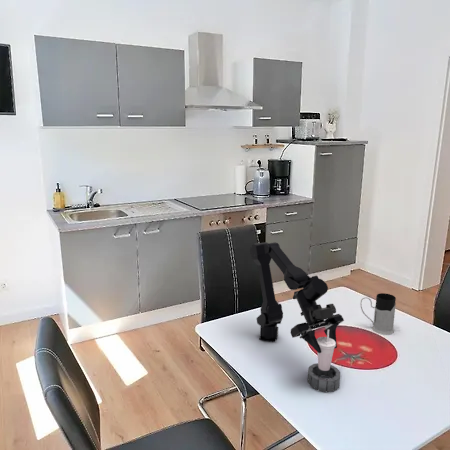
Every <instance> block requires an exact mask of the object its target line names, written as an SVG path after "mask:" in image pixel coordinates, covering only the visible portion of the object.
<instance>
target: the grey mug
mask: <svg viewBox="0 0 450 450" xmlns="http://www.w3.org/2000/svg"><path fill="white" fill-rule="evenodd" d="M364 299H368V300H369V301H370V308H372V309H374V314H373V320H372V319H371V318H370V317H369V316H368V314H366V313H365V311H364V310H363V307H362V305H360V309H361V312H362V314H363V315H364V316H365V317H366V318H367V319H369V321H370V322H372V323H371V324H372V327H371V329H372V331H373V332H375V333H377V334H380V335H384V336H387V335H388V336H389V335H393V334H394V332H395V330H394V325H395V324H394V323H395V315H396V314H395V312H396V304H397V303H396V300H397V298H396V297H395V295H393V294H390V293H377V294H376V299H375V306H373V305H372V304H373V303H372V300H371V298H370V297H367V296H365V297H364V296H363V297H362V298H361V300H360V303H362V302H363V300H364Z"/></svg>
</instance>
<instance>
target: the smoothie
mask: <svg viewBox="0 0 450 450" xmlns="http://www.w3.org/2000/svg"><path fill="white" fill-rule="evenodd" d="M316 339H317V342H318V344H319V346H320V349H321V353H318V352H317V351H316V352H317V363H318V368H319V369H320V370H323V371H328V370H329V369H330V365H332V360H333V355H334V352H335V351H334V350H335V348H334V347H335V346H336V342H337V341H336V342H335V340H333V339H332V338H329V329H328V330H327V336H319V337H317V338H316Z"/></svg>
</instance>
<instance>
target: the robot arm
mask: <svg viewBox="0 0 450 450" xmlns="http://www.w3.org/2000/svg"><path fill="white" fill-rule="evenodd" d="M249 254H250V255H251V259H252V261H253V262H254V264H255V265H256V266H257V270H258V277H259V278H258V279H259V283H260V289H261V295H262V303H261V307H260V314H259V315H258V316H257V317H256V323H257V325H258V326H259V327H260V328H259V329H260V330H259V331H260V332H259V333H260V336H259V337H258V340H260V341H265V342H271V343H275V342H276V341H277V339H278V337H279V326H278V325H281V324H282V321H283V318H284V312H283V307H282V304H281V303H279V302H278V301H277V300H276V296H275V295H276V294H275V290H274V289H275V288H274V283H273V277H272V271H271V265H270V263H271V261H273V262H274V263H275V265H276V266H277V267H278V269H279V270H280V271H281V272H282V274H283V275H284V276H283V281H284V283H285V284H286V286H287V288H288V289H289V290H291V291H294V290H295V291H294V293H293V295H292V299H293V300H297V304H298V306H299V309H300V310H301V312H300V316H302V317H304V320H305V322H301V323H298V324H297V323H296V324H295V325H294V326H293V327H291V329H290V334H291V337H292V338H298V337H299V339H303V340H304V341H305V342H306V343H308V344H309V345H310V347H312V348H313V349H314V350H315V352H318V353H321V349H320V346H319V344H318V342H317V338H316V331H315V329H319V328H323V327H324V328H325V329H324V330H323V332H324V335H325V337H327V330H328V329H329V338H332V339H333V340H335V342H336V346H335V347H334V349H337V348H338V343H337V331H336V330H337V327H338V326H339V325H340V324H341V323H343V322H344V321H345V320H344V317H343V315H341V313H337V309H336V306H335V305H334V303H329V304H326V306H325V307H322V305H321V304H319V303H317V300H319V299H320V298H321V297H323V296H324V295H326V293H328V291H329V287H328V284H327V282H325V281H324V280H323V279H322V278H319V277H318V275H313V276H309V275H308V274H307V272H305V270H303V269H302V268H301V267H298V266H296V265H295V264H294V263H293V262H292V261H291V260H290V258H289V257H288V255H286V253H285V252H284V250H283V249H281V246H280V244H279V243H278V242H275V241H274V242H266V241H265V242H260V243H258V242H257V243H253V244H252V245H251V247H250V249H249ZM296 290H297V291H296ZM336 313H337V314H336Z"/></svg>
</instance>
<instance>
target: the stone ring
mask: <svg viewBox="0 0 450 450" xmlns="http://www.w3.org/2000/svg"><path fill="white" fill-rule="evenodd" d="M307 369H308V370H307V378H306V379H307V384H308V385H309V387H310V388H312V389H314V390H316V391H318V392H320V393H321V392H322V393H331V392H335V391H337V390H339V389H340V384H341V371H340V369H338V367H336V366H334V365H332V364H331V365H330V369H329V370H328V371H323V370H320V369H319V368H318V362H316V363H313V364H311V365H309V367H308V368H307ZM322 376H323V377H322ZM324 377H327V378H324Z"/></svg>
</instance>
